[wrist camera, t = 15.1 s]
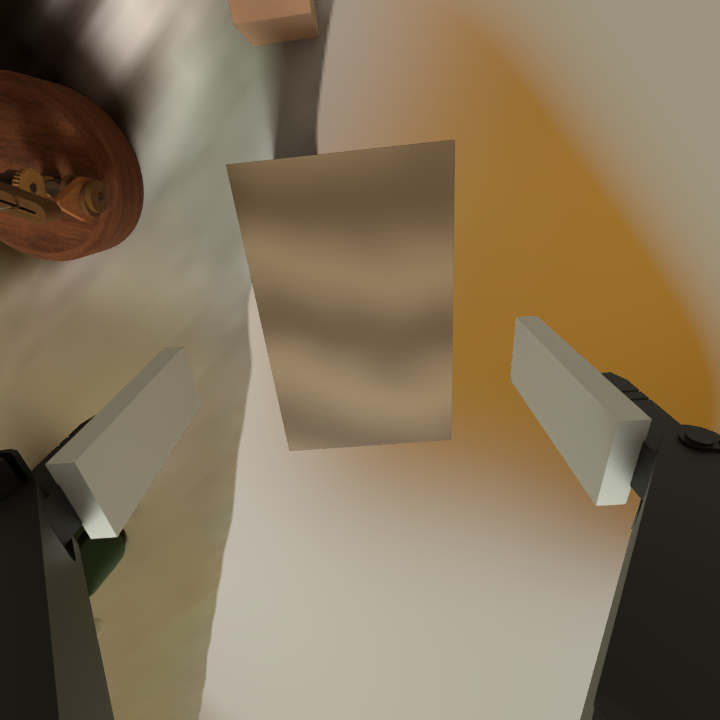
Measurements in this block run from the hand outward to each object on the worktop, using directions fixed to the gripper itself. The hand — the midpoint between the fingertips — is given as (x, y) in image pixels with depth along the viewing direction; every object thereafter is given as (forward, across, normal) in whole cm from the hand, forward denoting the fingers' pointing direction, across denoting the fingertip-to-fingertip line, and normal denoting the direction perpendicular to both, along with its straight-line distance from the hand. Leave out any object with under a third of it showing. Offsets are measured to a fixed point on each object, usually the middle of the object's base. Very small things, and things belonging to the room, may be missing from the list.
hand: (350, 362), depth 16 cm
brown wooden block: (+15, 0, -1) cm, 15 cm away
